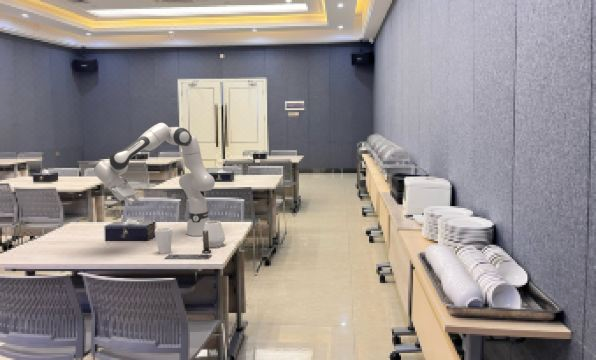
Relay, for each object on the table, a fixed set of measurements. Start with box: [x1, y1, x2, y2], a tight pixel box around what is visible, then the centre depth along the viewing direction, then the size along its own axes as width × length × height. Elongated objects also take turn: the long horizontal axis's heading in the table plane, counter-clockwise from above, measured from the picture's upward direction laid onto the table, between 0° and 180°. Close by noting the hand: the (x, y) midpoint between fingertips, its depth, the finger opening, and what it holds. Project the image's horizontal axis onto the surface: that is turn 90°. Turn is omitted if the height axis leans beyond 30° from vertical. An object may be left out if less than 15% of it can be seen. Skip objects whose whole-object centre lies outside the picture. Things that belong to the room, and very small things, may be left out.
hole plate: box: [164, 253, 213, 260], centre depth 280 cm, size 7×24×1 cm, turn 83°
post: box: [201, 231, 212, 255], centre depth 288 cm, size 5×5×12 cm
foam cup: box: [154, 227, 173, 255], centre depth 291 cm, size 10×9×13 cm
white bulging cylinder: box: [201, 220, 226, 249], centre depth 303 cm, size 13×13×14 cm
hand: (134, 203), depth 293 cm, fingers open, 8 cm apart
